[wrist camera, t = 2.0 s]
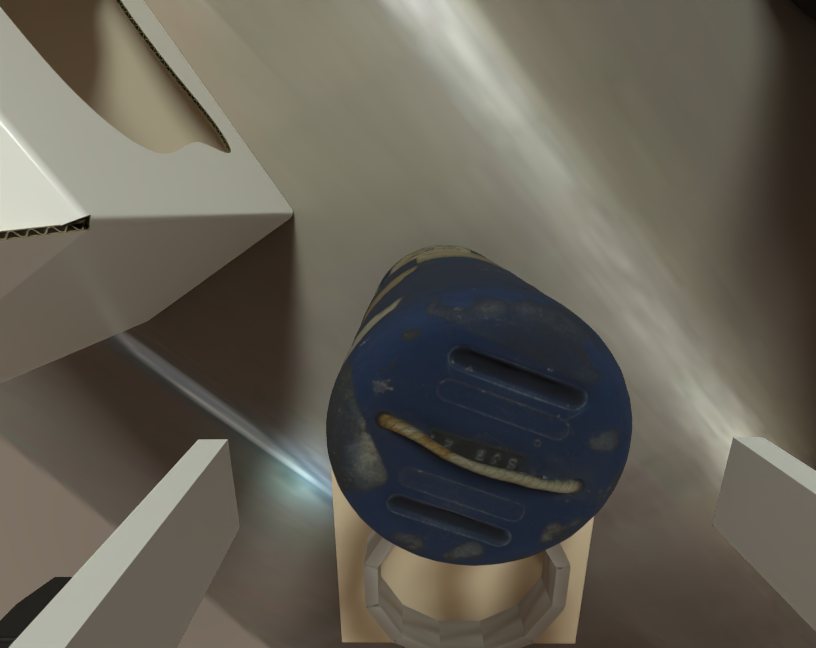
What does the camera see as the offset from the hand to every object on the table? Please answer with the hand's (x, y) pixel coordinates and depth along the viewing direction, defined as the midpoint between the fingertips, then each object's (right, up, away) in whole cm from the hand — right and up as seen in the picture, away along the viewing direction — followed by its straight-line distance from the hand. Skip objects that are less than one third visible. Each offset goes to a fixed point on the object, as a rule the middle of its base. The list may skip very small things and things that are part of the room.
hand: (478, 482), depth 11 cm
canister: (0, +5, +17) cm, 18 cm away
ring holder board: (+2, -14, +23) cm, 27 cm away
